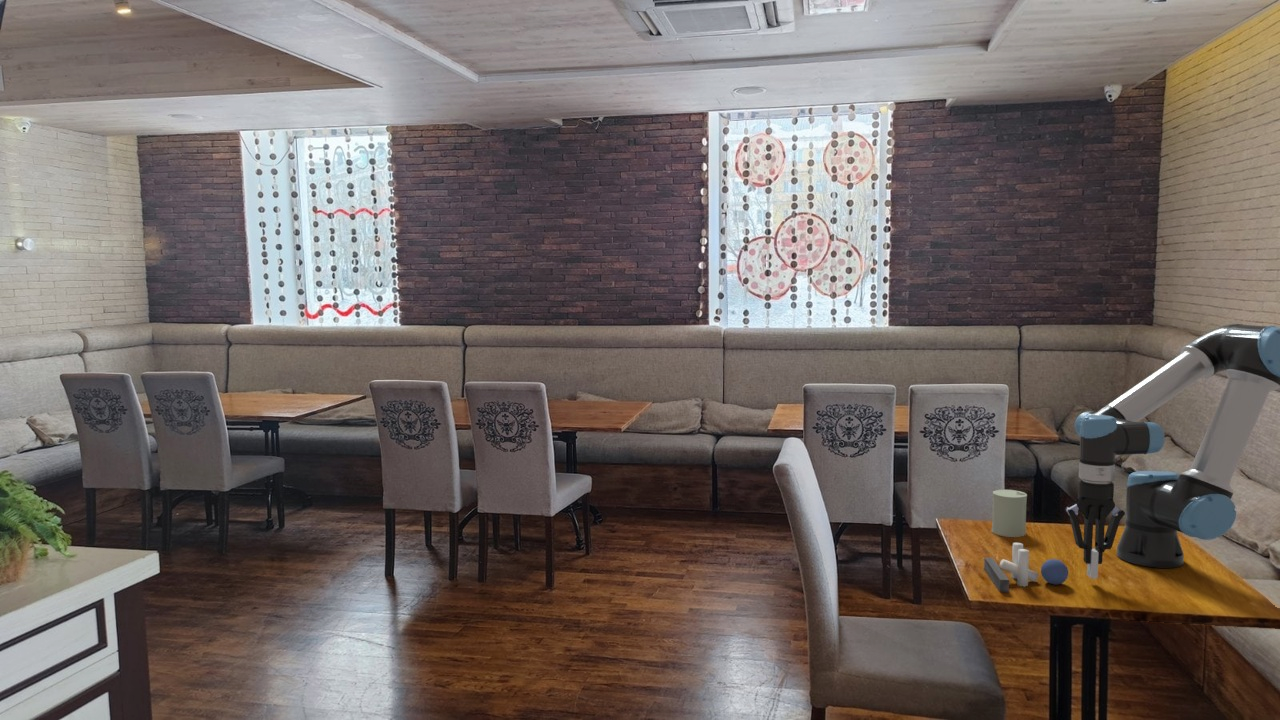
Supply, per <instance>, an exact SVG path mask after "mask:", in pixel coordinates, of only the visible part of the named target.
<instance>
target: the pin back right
mask: <svg viewBox="0 0 1280 720" xmlns="http://www.w3.org/2000/svg"><path fill="white" fill-rule="evenodd" d="M1019 549H1024V543H1021V542H1012V552H1011V553H1012V555H1011V558H1012V559H1011V562H1012V563H1014V564H1017V565H1018V550H1019ZM1011 579H1013V580H1017V575H1015V574H1013V573H1011Z"/></svg>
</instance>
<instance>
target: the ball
mask: <svg viewBox="0 0 1280 720" xmlns="http://www.w3.org/2000/svg"><path fill="white" fill-rule="evenodd" d="M1040 574H1041V576H1042V578H1043V580H1044V581H1045V582H1047V583H1049V584H1050V585H1061V584H1063V583H1064V582H1066V581H1067V579H1068V577H1069V569H1068V567H1067V565H1066V564H1065V563H1064V562H1063V561H1062V560H1060V559H1057V558H1056V559H1055V558H1050V559H1048V560H1046V561H1044V562H1043V563H1042V565H1041V567H1040Z"/></svg>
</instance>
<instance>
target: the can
mask: <svg viewBox="0 0 1280 720" xmlns="http://www.w3.org/2000/svg"><path fill="white" fill-rule="evenodd" d="M1027 498H1028V494H1027V493H1026V492H1024V491H1020V490H1015V489H996V490H994V491H992V518H991V519H992V520H991V521H992V524H991V532H992V534H995V535H997V536H1000V537H1007V538H1022V537H1025V536H1026V535H1027V530H1026V529H1027V528H1026V526H1027V525H1026V523H1027ZM1024 535H1025V536H1024ZM1021 536H1022V537H1021Z"/></svg>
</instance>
